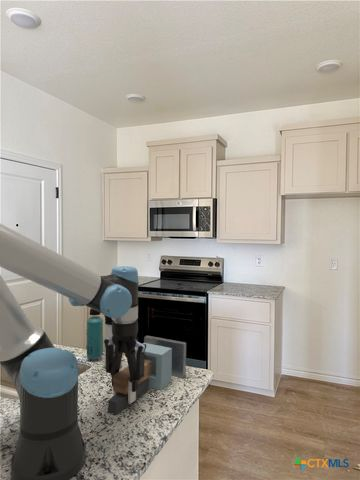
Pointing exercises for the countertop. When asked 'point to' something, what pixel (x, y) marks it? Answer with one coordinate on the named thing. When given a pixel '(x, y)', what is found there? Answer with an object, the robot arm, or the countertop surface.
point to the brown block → (124, 376)
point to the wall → (177, 353)
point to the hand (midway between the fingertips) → (124, 399)
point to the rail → (125, 398)
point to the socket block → (159, 365)
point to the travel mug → (108, 335)
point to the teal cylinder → (94, 335)
